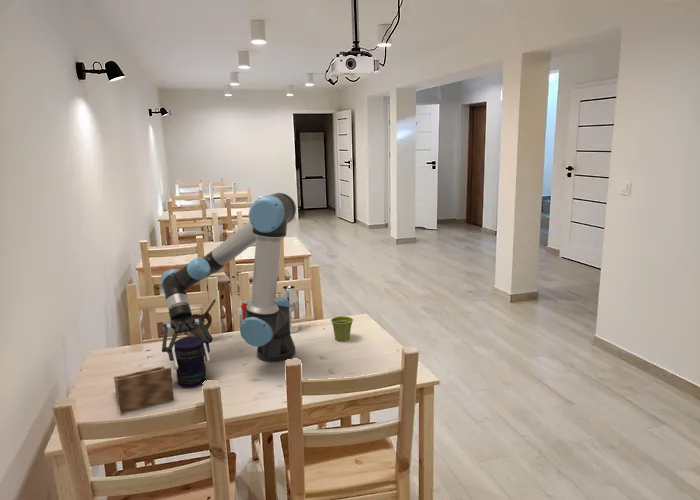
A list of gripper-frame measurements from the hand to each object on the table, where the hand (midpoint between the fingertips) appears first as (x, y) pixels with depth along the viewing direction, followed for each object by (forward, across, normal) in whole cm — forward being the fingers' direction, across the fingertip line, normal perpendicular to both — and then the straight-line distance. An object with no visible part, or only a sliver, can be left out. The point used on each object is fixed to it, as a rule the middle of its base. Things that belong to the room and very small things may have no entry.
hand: (192, 364), depth 171 cm
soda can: (-20, -33, -31) cm, 50 cm away
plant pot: (-1, -64, -12) cm, 65 cm away
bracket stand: (+5, +16, -6) cm, 18 cm away
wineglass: (-16, -49, -27) cm, 59 cm away
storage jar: (+3, 0, -8) cm, 8 cm away
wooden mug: (-23, -12, -34) cm, 42 cm away
